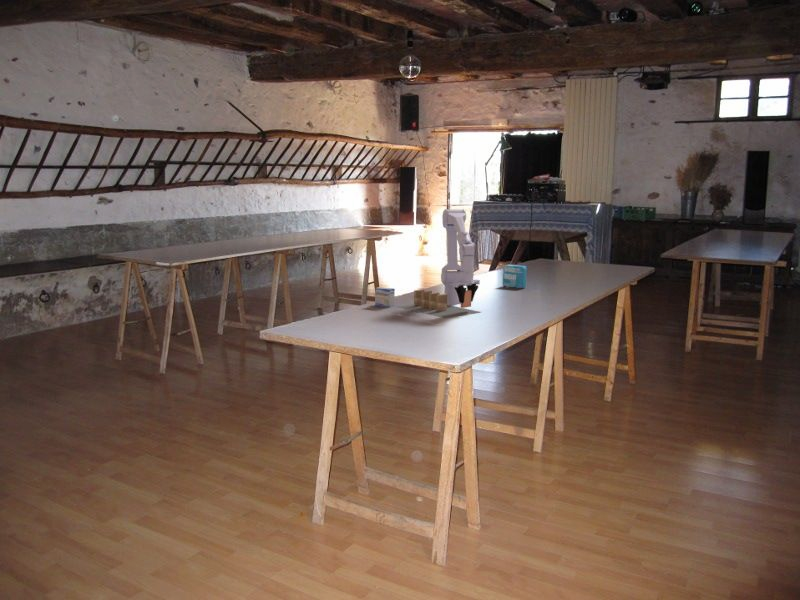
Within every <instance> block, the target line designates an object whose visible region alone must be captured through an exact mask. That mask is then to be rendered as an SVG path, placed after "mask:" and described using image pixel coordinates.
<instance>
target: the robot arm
mask: <svg viewBox="0 0 800 600" xmlns="http://www.w3.org/2000/svg"><path fill="white" fill-rule="evenodd" d="M441 216H442V218H441V219H442V227H443V228H444V229H445V231H446V252H447V253H446V261H447V263H446V264H445V265H444V266H443V267H442V268H441V275H440V281H441V284H443V285H444V293H443V294H447V305H451V306H456V305H461V303H464V297H465V292H466V290H472V293H471V303H472V302H473V301H474V299H475V295H476V292H477V290H478V289H479V285H480V283H481V281H480V279H474V271H475V270H474V268H475V267H474V266H475V257H476V255H477V245H476V243H474V242H472V239H471V236H470V235H471V234H470V233H469V231H466V226H465V223H466V220H467V213H466V210H465V209H464V208H461V209H447V208H446V209H444V210H443V212H442V215H441ZM458 247H459V248H458ZM458 255H459V257H458ZM458 258H459V261H460V264H458V262H459V261H458Z"/></svg>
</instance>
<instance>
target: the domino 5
mask: <svg viewBox="0 0 800 600" xmlns="http://www.w3.org/2000/svg"><path fill="white" fill-rule="evenodd" d="M471 293H472V290H467V289H466V292H465V297H464V303H461V304H460V308H465V309H466V308H470V307H472V302H471Z"/></svg>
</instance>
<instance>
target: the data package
mask: <svg viewBox="0 0 800 600" xmlns="http://www.w3.org/2000/svg"><path fill="white" fill-rule="evenodd" d="M527 272H528V269H527V266H526V265H519V264H518V265H517V264H505V265H504V266H503V268H502V286H503V287H504V286H506V287H505V288H509V287H516V288H515V289H518V288H522V289H524V288H526V287H527V276H528V275H527V274H528V273H527Z"/></svg>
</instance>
